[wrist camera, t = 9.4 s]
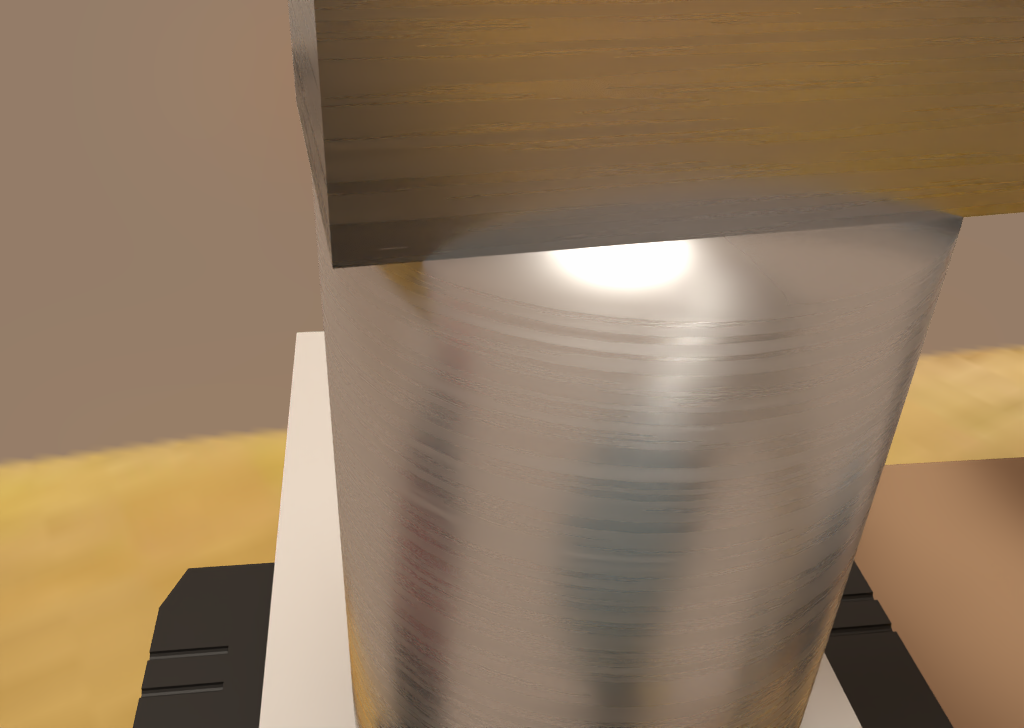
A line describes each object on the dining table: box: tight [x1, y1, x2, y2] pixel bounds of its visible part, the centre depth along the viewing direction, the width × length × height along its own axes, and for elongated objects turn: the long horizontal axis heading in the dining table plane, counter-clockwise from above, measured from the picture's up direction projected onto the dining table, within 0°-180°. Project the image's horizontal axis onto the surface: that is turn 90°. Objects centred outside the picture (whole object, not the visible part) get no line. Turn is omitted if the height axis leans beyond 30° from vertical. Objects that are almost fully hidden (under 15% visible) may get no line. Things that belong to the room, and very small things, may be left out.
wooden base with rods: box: [854, 457, 1024, 728], centre depth 14 cm, size 20×13×19 cm, turn 97°
